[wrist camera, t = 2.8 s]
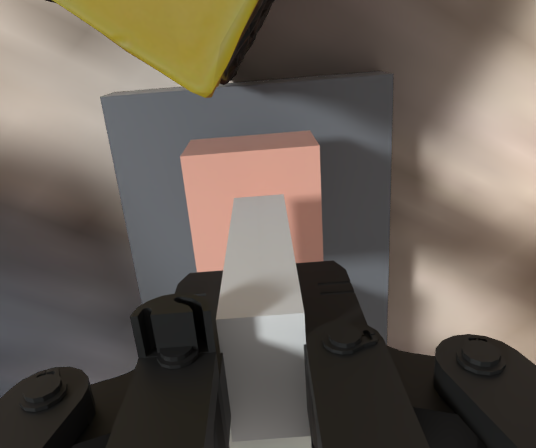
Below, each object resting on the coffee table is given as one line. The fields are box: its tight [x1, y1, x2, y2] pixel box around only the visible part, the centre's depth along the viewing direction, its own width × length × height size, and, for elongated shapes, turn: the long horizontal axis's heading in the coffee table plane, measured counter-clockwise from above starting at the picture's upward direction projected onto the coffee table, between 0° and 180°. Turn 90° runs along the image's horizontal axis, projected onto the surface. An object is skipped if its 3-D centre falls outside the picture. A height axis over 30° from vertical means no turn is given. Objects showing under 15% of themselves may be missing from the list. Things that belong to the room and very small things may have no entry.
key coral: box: [180, 130, 323, 272], centre depth 18 cm, size 5×5×5 cm
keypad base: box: [100, 71, 393, 345], centre depth 24 cm, size 12×22×2 cm, turn 4°
